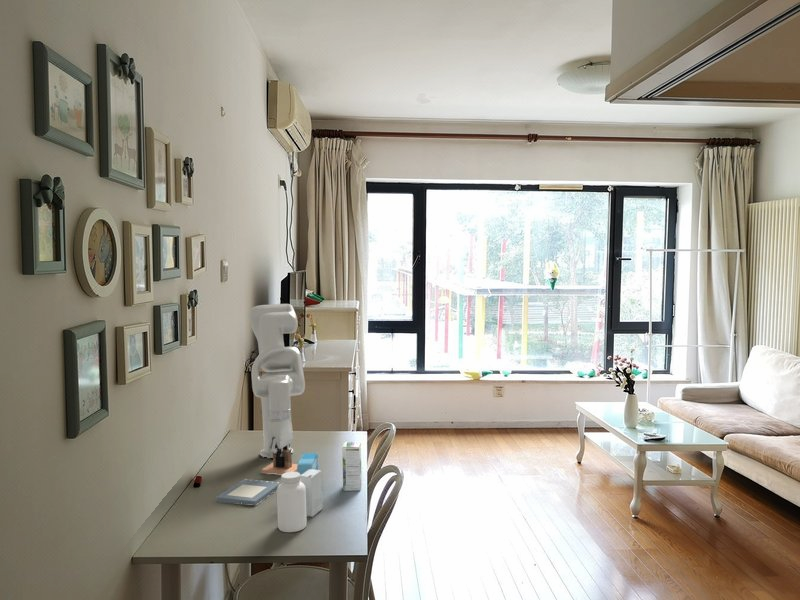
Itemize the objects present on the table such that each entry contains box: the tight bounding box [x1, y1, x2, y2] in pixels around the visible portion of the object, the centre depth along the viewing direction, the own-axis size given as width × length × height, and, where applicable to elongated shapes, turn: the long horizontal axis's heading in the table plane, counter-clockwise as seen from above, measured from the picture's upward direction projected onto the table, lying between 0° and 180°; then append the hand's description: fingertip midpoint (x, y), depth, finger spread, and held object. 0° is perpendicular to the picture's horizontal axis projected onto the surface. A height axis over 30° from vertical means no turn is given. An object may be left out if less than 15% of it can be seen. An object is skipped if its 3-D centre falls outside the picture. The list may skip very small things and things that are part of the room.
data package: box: [297, 452, 319, 475], centre depth 192 cm, size 12×4×12 cm, turn 179°
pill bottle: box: [276, 472, 307, 533], centre depth 169 cm, size 8×8×15 cm
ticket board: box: [215, 478, 281, 505], centre depth 194 cm, size 16×14×2 cm
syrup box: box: [341, 441, 363, 492], centre depth 197 cm, size 6×6×14 cm
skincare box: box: [300, 469, 323, 518], centre depth 178 cm, size 6×4×12 cm
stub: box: [261, 449, 298, 474], centre depth 214 cm, size 8×12×8 cm, turn 72°
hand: (282, 465), depth 214 cm, fingers closed on stub, 2 cm apart
